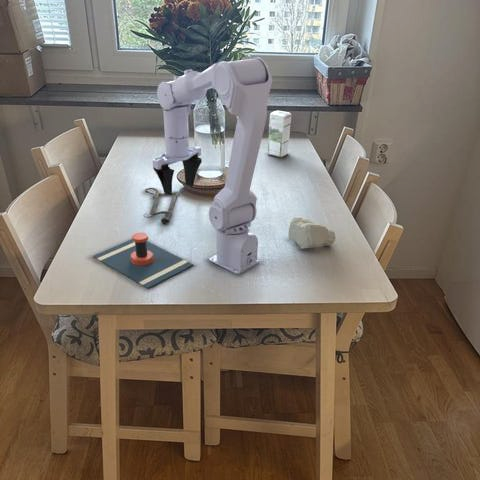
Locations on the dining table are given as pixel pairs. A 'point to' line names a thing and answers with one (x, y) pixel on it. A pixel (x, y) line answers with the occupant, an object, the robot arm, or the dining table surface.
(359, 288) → the dining table surface
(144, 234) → the orange thread spool
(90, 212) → the dining table surface
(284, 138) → the syrup box
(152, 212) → the hacksaw
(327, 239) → the decorative stone
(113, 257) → the tea towel
